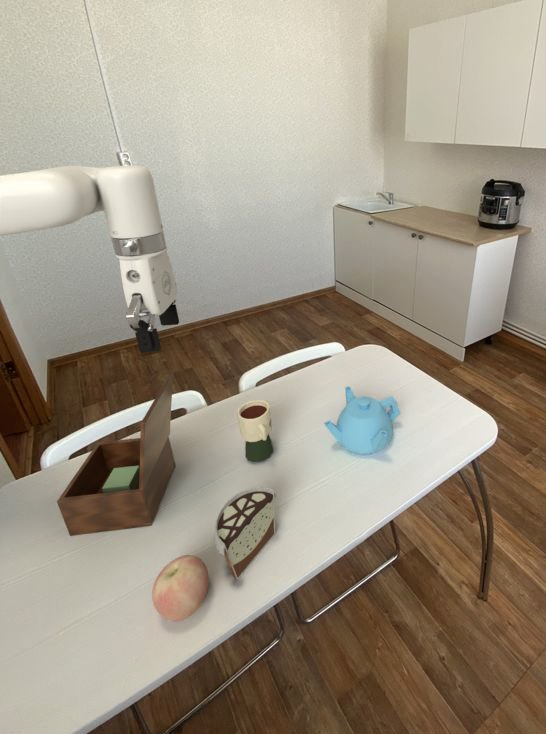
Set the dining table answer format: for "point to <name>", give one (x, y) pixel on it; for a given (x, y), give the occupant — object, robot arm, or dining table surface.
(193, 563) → the apple
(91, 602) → the dining table surface
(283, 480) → the dining table surface
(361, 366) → the dining table surface
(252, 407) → the character mug
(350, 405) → the teapot
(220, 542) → the slice of cake
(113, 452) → the chest
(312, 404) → the dining table surface
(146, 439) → the lid
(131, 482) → the block
